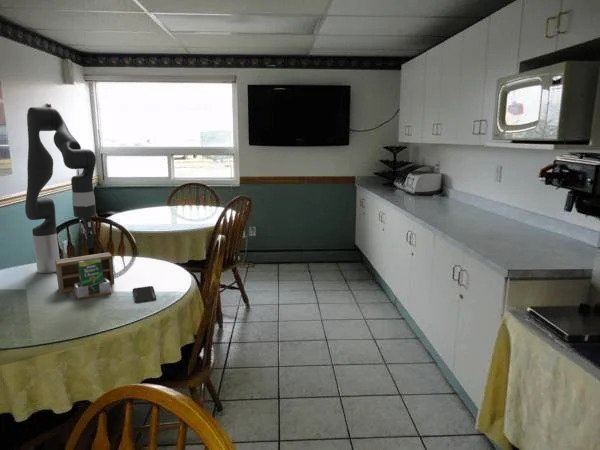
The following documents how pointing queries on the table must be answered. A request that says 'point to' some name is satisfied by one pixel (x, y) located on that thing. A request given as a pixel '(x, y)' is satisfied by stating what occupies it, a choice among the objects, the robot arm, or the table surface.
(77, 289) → the grey open rectangular frame
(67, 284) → the walnut cabinet
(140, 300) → the phone
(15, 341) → the table surface
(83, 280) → the coffee box
